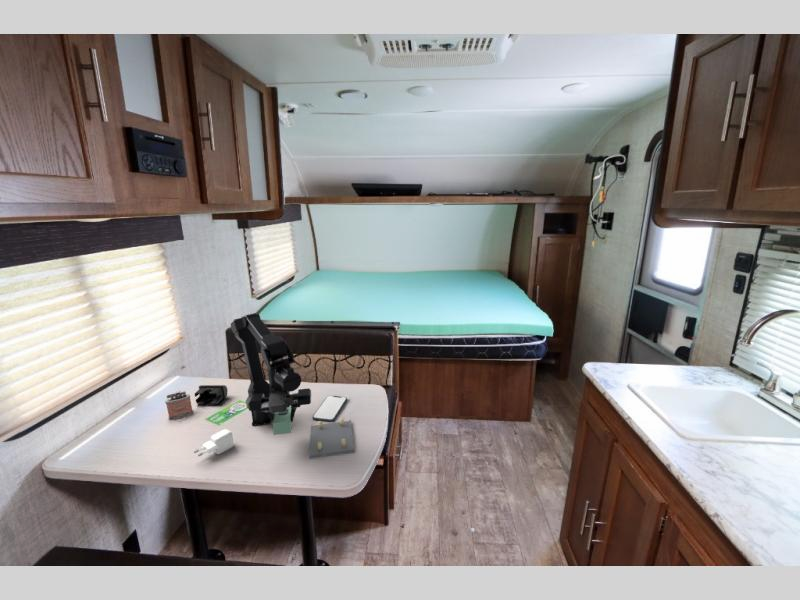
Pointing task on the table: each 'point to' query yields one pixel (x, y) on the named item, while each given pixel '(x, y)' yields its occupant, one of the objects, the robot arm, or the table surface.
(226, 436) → the power adapter
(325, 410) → the smartphone
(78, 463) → the table surface
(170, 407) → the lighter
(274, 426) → the circuit board module
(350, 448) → the chassis
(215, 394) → the end cap
